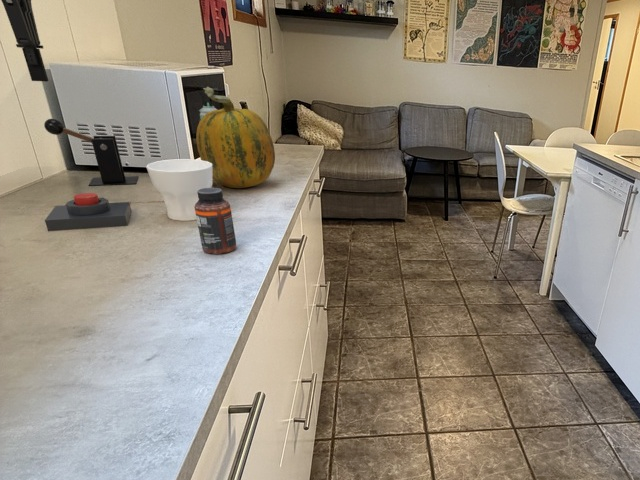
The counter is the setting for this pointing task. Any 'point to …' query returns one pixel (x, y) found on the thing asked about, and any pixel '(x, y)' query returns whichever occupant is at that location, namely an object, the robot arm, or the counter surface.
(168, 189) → the cup
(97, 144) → the lever bracket
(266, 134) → the pumpkin
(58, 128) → the switch lever
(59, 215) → the switch box
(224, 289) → the counter surface
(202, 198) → the supplement bottle
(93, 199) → the push button
